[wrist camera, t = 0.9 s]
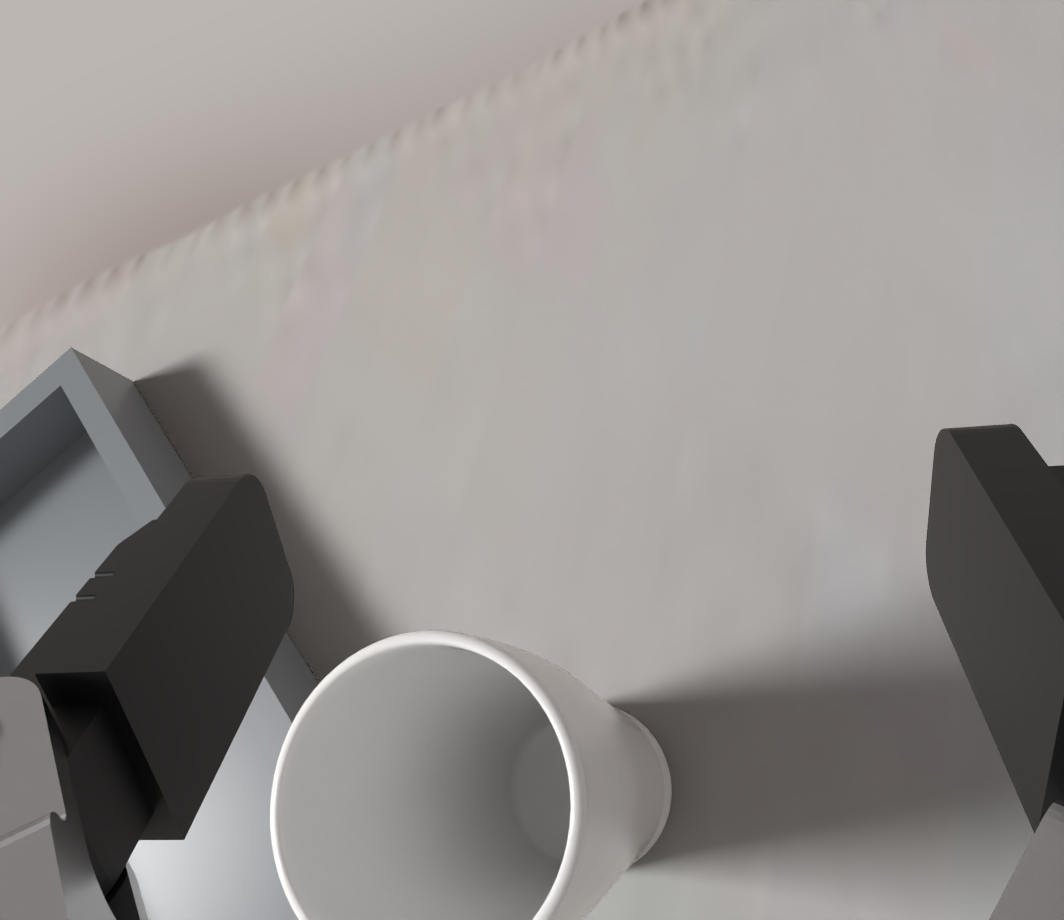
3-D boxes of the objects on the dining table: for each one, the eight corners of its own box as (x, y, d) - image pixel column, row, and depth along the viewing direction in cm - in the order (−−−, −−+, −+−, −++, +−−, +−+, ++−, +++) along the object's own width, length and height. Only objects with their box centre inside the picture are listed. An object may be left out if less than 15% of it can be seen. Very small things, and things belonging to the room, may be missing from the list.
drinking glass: (624, 645, 33) (475, 559, 19) (739, 823, 30) (661, 871, 16) (467, 752, 33) (214, 743, 20) (566, 937, 31) (351, 1075, 17)
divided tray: (132, 381, 43) (71, 347, 40) (435, 874, 32) (388, 887, 29) (-85, 571, 43) (-164, 554, 40) (145, 1119, 33) (65, 1161, 29)
